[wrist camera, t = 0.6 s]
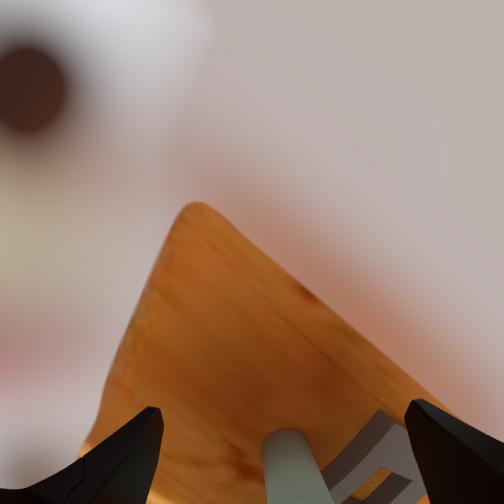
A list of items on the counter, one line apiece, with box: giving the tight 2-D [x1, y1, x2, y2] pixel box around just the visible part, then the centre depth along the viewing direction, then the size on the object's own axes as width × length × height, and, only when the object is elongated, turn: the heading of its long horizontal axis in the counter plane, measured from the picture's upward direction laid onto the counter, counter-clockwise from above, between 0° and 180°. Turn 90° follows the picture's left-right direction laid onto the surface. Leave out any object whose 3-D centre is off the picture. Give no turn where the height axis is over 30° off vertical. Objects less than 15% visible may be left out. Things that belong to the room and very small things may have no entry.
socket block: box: [321, 410, 427, 504], centre depth 22 cm, size 14×14×4 cm
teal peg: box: [262, 429, 334, 504], centre depth 19 cm, size 5×5×12 cm
